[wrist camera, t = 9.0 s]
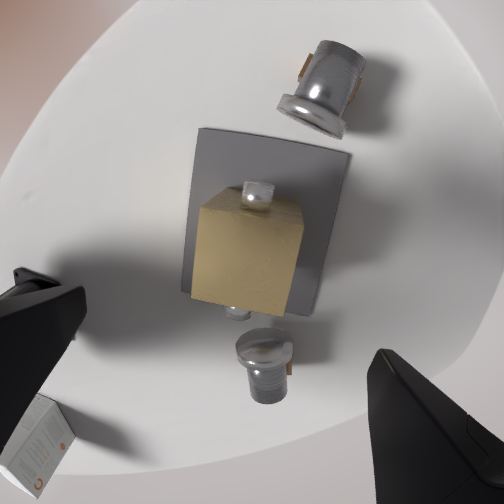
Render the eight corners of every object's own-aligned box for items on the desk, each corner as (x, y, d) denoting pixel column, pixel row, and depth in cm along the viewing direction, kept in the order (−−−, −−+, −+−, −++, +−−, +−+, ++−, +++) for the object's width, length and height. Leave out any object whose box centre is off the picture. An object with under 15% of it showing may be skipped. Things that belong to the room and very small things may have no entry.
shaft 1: (242, 320, 22) (231, 361, 17) (292, 318, 21) (292, 360, 17) (248, 366, 23) (240, 409, 19) (294, 366, 23) (294, 409, 18)
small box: (25, 386, 30) (-24, 445, 18) (56, 400, 30) (6, 469, 17) (46, 424, 33) (7, 480, 21) (77, 437, 32) (38, 501, 20)
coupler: (215, 271, 20) (189, 319, 15) (229, 168, 18) (203, 178, 12) (281, 284, 20) (277, 337, 15) (302, 181, 18) (310, 197, 12)
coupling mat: (182, 289, 21) (181, 291, 21) (200, 128, 18) (198, 128, 17) (308, 314, 21) (308, 316, 21) (347, 154, 17) (348, 154, 17)
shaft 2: (332, 140, 17) (347, 139, 13) (277, 114, 17) (275, 104, 13) (361, 80, 15) (383, 61, 11) (307, 53, 15) (313, 26, 11)
